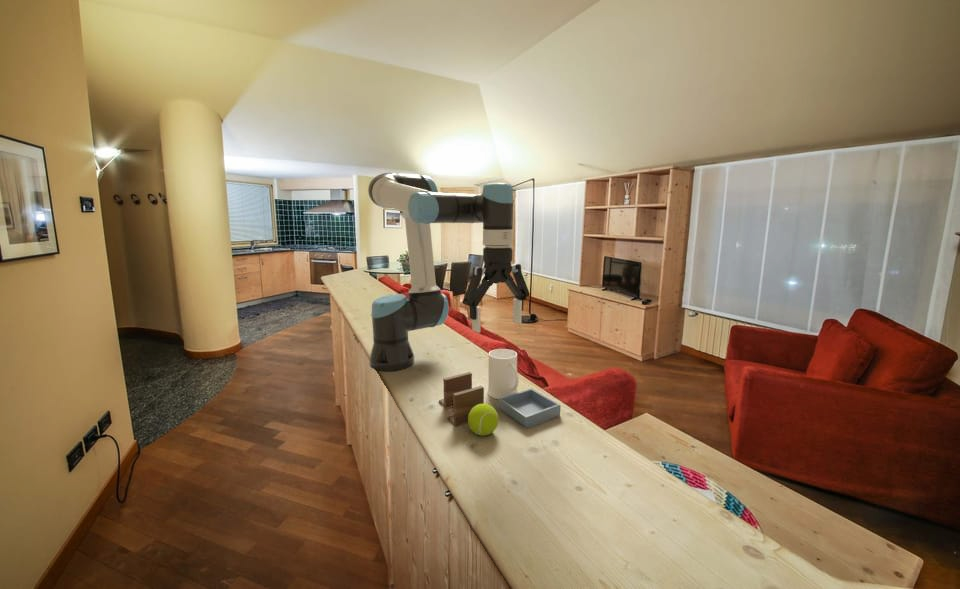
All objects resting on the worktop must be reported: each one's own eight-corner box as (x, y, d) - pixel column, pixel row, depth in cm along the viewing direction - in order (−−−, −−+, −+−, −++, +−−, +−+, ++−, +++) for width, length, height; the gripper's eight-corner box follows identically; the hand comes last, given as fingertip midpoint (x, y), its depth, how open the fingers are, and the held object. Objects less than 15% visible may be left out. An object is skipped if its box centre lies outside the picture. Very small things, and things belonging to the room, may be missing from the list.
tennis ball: (504, 435, 86) (504, 407, 85) (478, 445, 83) (478, 416, 81) (487, 421, 92) (487, 395, 91) (462, 430, 89) (462, 403, 87)
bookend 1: (439, 402, 102) (438, 374, 101) (464, 394, 106) (464, 368, 105) (446, 408, 99) (445, 380, 97) (472, 400, 103) (471, 373, 101)
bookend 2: (447, 418, 94) (447, 388, 92) (475, 409, 98) (474, 381, 96) (456, 426, 90) (455, 395, 89) (483, 416, 94) (483, 387, 93)
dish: (498, 409, 98) (498, 398, 98) (531, 398, 104) (531, 388, 104) (525, 428, 89) (525, 417, 88) (559, 415, 95) (560, 404, 94)
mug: (528, 401, 102) (529, 360, 100) (500, 407, 99) (501, 365, 97) (508, 384, 113) (509, 346, 111) (482, 389, 110) (482, 350, 107)
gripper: (464, 249, 85) (465, 338, 89) (543, 245, 99) (541, 322, 103) (447, 247, 91) (449, 331, 95) (525, 243, 105) (523, 317, 109)
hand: (497, 327), depth 99 cm, fingers open, 13 cm apart
